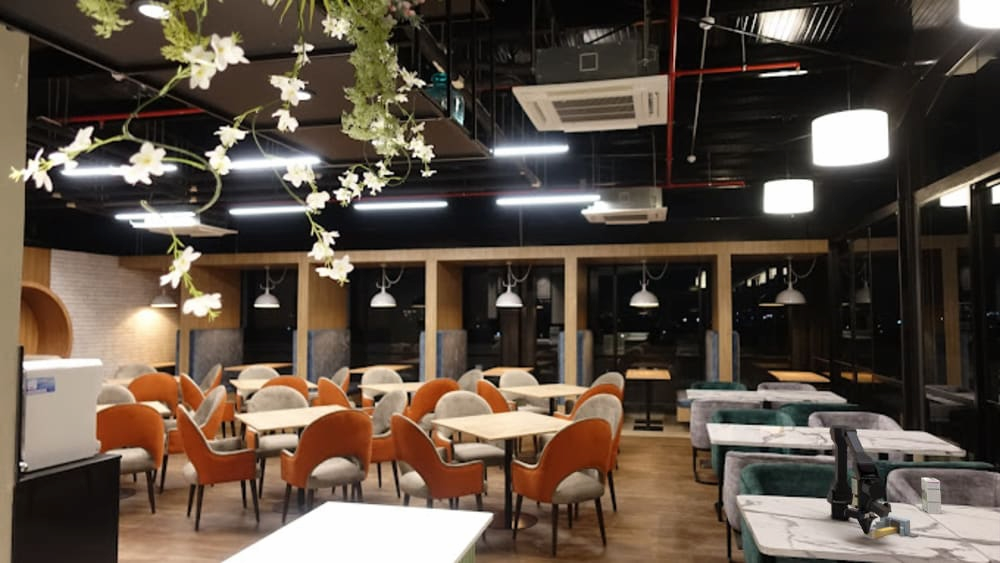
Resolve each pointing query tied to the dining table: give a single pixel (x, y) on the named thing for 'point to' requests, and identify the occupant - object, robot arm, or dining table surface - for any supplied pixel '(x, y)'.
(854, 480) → the coffee can
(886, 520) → the blue-grey bracket
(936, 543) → the dining table surface
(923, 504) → the syrup box
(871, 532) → the yellow handled hammer
